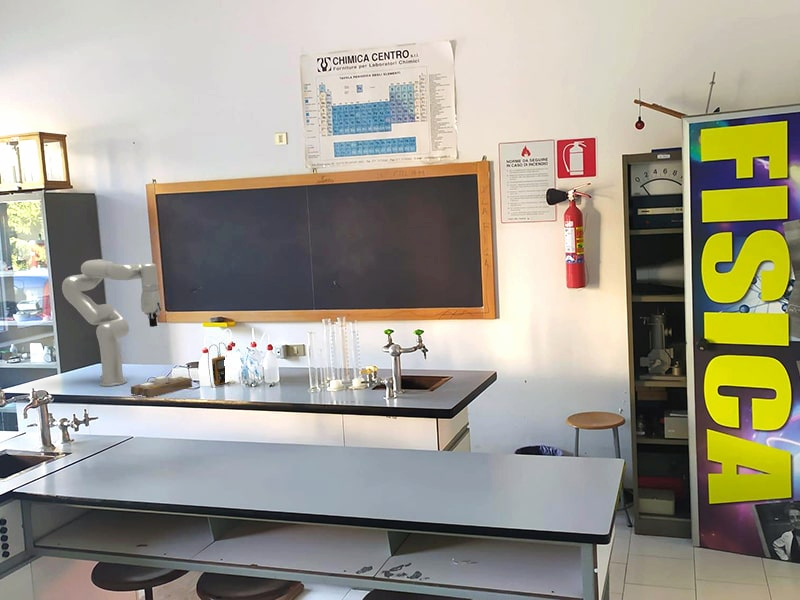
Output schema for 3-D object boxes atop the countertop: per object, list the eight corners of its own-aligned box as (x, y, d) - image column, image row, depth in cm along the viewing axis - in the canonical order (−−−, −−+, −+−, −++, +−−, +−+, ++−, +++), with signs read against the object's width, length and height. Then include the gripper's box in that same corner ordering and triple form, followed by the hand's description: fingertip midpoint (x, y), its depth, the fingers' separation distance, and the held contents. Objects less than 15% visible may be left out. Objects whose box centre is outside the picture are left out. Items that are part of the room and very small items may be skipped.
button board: (131, 394, 354) (130, 385, 353) (173, 384, 373) (172, 375, 373) (150, 397, 346) (149, 388, 345) (192, 386, 365) (191, 377, 365)
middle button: (155, 387, 359) (154, 378, 358) (162, 385, 362) (161, 376, 362) (161, 388, 356) (160, 378, 356) (168, 386, 360) (167, 376, 359)
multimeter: (221, 388, 357) (217, 347, 355) (207, 386, 363) (204, 345, 361) (245, 382, 369) (242, 342, 367) (231, 380, 375) (228, 340, 373)
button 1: (141, 394, 353) (140, 384, 352) (148, 392, 356) (148, 382, 356) (147, 395, 350) (146, 385, 349) (154, 392, 354) (154, 383, 353)
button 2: (169, 386, 366) (168, 377, 365) (176, 384, 369) (175, 375, 369) (175, 387, 363) (174, 378, 363) (182, 385, 367) (181, 376, 366)
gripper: (134, 289, 369) (137, 326, 371) (153, 290, 361) (156, 328, 363) (147, 287, 375) (150, 324, 378) (166, 288, 367) (169, 325, 369)
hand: (153, 326), depth 370 cm, fingers closed
